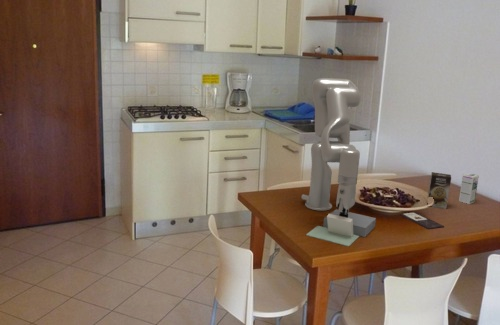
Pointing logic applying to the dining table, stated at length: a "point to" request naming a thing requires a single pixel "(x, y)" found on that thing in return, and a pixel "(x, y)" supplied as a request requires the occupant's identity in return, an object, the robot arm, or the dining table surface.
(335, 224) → the tile
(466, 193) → the syrup box
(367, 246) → the dining table surface
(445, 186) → the coffee box
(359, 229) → the block
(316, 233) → the mat
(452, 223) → the dining table surface
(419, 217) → the chocolate bar
